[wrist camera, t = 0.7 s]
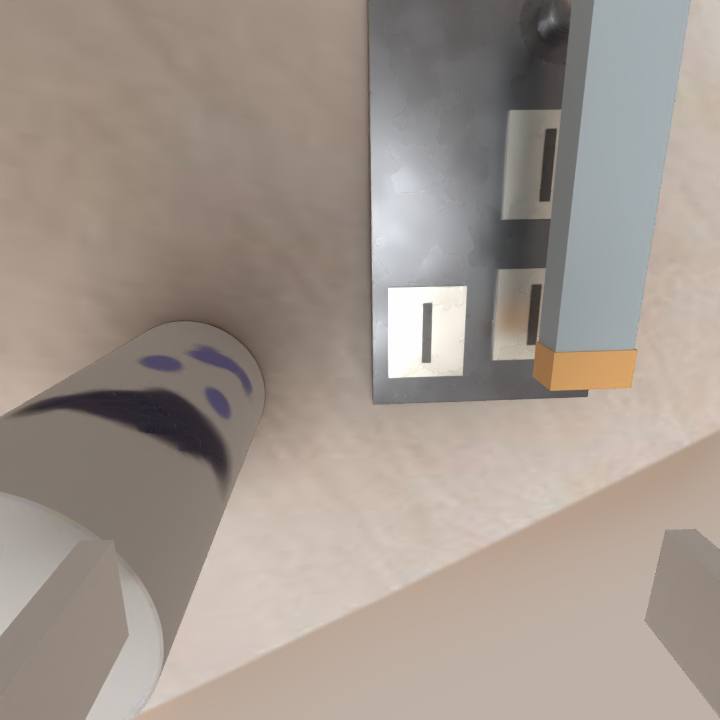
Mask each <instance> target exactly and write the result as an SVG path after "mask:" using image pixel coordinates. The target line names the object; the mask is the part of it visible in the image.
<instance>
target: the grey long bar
mask: <svg viewBox="0 0 720 720" xmlns="http://www.w3.org/2000/svg"><path fill="white" fill-rule="evenodd" d="M690 3H691V0H572V7H571V17H570V27H569V37H568V48H567V58H566V68H565V78H564V88H563V98H562V109H561V119H560V129H559V139H558V149H557V160H556V170H555V180H554V190H553V200H552V211H551V221H550V231H549V241H548V251H547V261H546V272H545V282H544V292H543V302H542V312H541V323H540V333H539V341H538V342H536V347H535V357H534V367H533V377H534V378H535V379H536V380H537V381H539V382H540V383H541V384H542V385H544V386H545V387H546V388H547V389H549V390H550V391H559V390H587V389H616V388H631V386H632V380H633V374H634V368H635V362H636V356H637V350H636V349H634V348H635V342H636V336H637V330H638V323H639V317H640V311H641V305H642V299H643V293H644V286H645V280H646V274H647V268H648V262H649V256H650V249H651V243H652V237H653V231H654V225H655V219H656V212H657V206H658V200H659V194H660V188H661V182H662V175H663V169H664V163H665V157H666V151H667V145H668V138H669V132H670V126H671V120H672V114H673V108H674V101H675V95H676V89H677V83H678V77H679V71H680V64H681V58H682V52H683V46H684V40H685V34H686V27H687V21H688V15H689V9H690Z"/></svg>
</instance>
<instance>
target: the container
mask: <svg viewBox="0 0 720 720" xmlns="http://www.w3.org/2000/svg"><path fill="white" fill-rule="evenodd" d="M264 403H265V387H264V381H263V377H262V374H261V371H260V369H259V367H258V365H257V363H256V361H255V359H254V358H253V356H252V355H251V354H250V352H249V351H248V350H247V349H246V348H245V347H244V346H243V345H242V344H241V343H240V342H239V341H238V340H237V339H235V338H234V337H233V336H231V335H230V334H228V333H226V332H225V331H223V330H221V329H219V328H216V327H214V326H211V325H208V324H204V323H199V322H191V321H178V322H171V323H166V324H162V325H159V326H157V327H154V328H152V329H150V330H148V331H147V332H145V333H143V334H142V335H140V336H138V337H136V338H135V339H133V340H131V341H130V342H128V343H126V344H124V345H123V346H121V347H119V348H118V349H116V350H114V351H112V352H111V353H109V354H107V355H106V356H104V357H102V358H100V359H99V360H97V361H95V362H94V363H92V364H90V365H88V366H87V367H85V368H83V369H82V370H80V371H78V372H76V373H75V374H73V375H71V376H70V377H68V378H66V379H64V380H63V381H61V382H59V383H58V384H56V385H54V386H52V387H51V388H49V389H47V390H46V391H44V392H42V393H40V394H39V395H37V396H35V397H34V398H32V399H30V400H28V401H27V402H25V403H23V404H22V405H20V406H18V407H16V408H15V409H13V410H11V411H10V412H8V413H6V414H4V415H3V416H1V417H0V636H1V635H2V633H3V632H4V631H5V630H6V629H7V627H8V626H9V625H10V624H11V623H12V621H13V620H14V619H15V618H16V617H17V615H18V614H19V613H20V612H21V611H22V609H23V608H24V607H25V606H26V605H27V603H28V602H29V601H30V600H31V599H32V597H33V596H34V595H35V594H36V593H37V591H38V590H39V589H40V588H41V587H42V585H43V584H44V583H45V582H46V581H47V579H48V578H49V577H50V576H51V575H52V573H53V572H54V571H55V570H56V568H57V567H58V566H59V565H60V564H61V562H62V561H63V560H64V559H65V558H66V556H67V555H68V554H69V553H70V552H71V550H72V549H73V548H74V547H75V546H76V544H77V543H78V542H79V541H91V540H114V545H115V552H116V558H117V564H118V570H119V576H120V582H121V589H122V595H123V601H124V607H125V613H126V619H127V626H128V632H129V636H128V638H127V640H126V642H125V644H124V646H123V648H122V650H121V652H120V654H119V655H118V657H117V659H116V661H115V663H114V665H113V667H112V669H111V671H110V673H109V675H108V677H107V679H106V681H105V683H104V685H103V686H102V688H101V690H100V692H99V694H98V696H97V698H96V700H95V702H94V704H93V706H92V708H91V710H90V712H89V714H88V715H87V717H86V719H85V720H133V719H134V718H135V717H136V716H137V715H138V714H139V713H140V711H141V710H142V709H143V708H144V706H145V705H146V703H147V702H148V700H149V699H150V697H151V695H152V694H153V692H154V690H155V687H156V685H157V683H158V680H159V677H160V675H161V672H162V670H163V667H164V665H165V662H166V659H167V657H168V654H169V652H170V649H171V647H172V644H173V641H174V639H175V636H176V634H177V631H178V629H179V626H180V623H181V621H182V618H183V616H184V613H185V611H186V608H187V605H188V603H189V600H190V598H191V595H192V593H193V590H194V587H195V585H196V582H197V580H198V577H199V575H200V572H201V569H202V567H203V564H204V562H205V559H206V557H207V554H208V552H209V549H210V546H211V544H212V541H213V539H214V536H215V534H216V531H217V528H218V526H219V523H220V521H221V518H222V516H223V513H224V510H225V508H226V505H227V503H228V500H229V498H230V495H231V492H232V490H233V487H234V485H235V482H236V480H237V477H238V474H239V472H240V469H241V467H242V464H243V462H244V459H245V456H246V454H247V451H248V449H249V446H250V444H251V441H252V438H253V436H254V433H255V431H256V428H257V426H258V423H259V420H260V418H261V415H262V412H263V408H264Z"/></svg>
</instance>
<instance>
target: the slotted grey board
mask: <svg viewBox="0 0 720 720" xmlns="http://www.w3.org/2000/svg"><path fill="white" fill-rule="evenodd" d="M526 1H527V0H368V71H369V153H370V236H371V319H372V398H373V403H374V405H375V404H403V403H430V402H458V401H486V400H514V399H541V398H569V397H587V396H588V389H587V390H559V391H550V390H549V389H547V388H546V387H545V386H544V385H542V384H541V383H540V382H539V381H537V380H536V379H535V378H534V377H533V367H534V357H535V347H536V342H538V341H539V333H540V323H541V312H542V302H543V292H544V282H545V272H546V261H547V251H548V241H549V231H550V221H551V211H552V200H553V190H554V180H555V170H556V160H557V149H558V139H559V129H560V119H561V109H562V98H563V88H564V78H565V68H566V64H565V63H566V58H567V50H563V49H565V48H566V49H567V48H568V46H567V45H568V42H566V43H564V44H562V45H561V46H560V45H552V44H549V43H547V42H546V41H545V42H544V39H543V38H542V36H541V35H540V33H539V30H537V29H538V27H537V26H538V19H537V18H538V15H539V13H538V12H540V9H541V7H542V6H543V4H544V3H545V2H546V0H541V2H540V0H538V2H537V0H528V2H526ZM529 1H530V2H529ZM533 1H534V2H533ZM535 1H536V2H535ZM532 2H533V3H532ZM542 2H544V3H543V4H542ZM528 3H529V4H528ZM534 3H535V4H534ZM539 3H541V4H539ZM525 4H526V5H525ZM527 4H528V5H527ZM533 5H534V6H533ZM523 6H524V7H523ZM528 6H530V7H531V6H532V7H531V8H532V9H531V8H530V7H528ZM535 6H536V7H535ZM540 6H541V7H540ZM527 7H528V8H527ZM526 8H527V9H526ZM535 8H536V9H535ZM539 8H540V9H539ZM530 9H531V10H530ZM526 10H527V11H526ZM538 10H539V11H538ZM528 11H529V12H528ZM523 12H524V13H525V12H526V13H525V15H526V16H527V17H524V16H525V15H523V14H524V13H523ZM527 12H528V13H527ZM532 12H533V13H534V14H533V13H532ZM536 12H537V13H536ZM536 14H537V15H536ZM533 15H534V16H535V17H536V18H535V17H534V16H533ZM530 16H531V17H532V18H534V19H532V18H531V17H530ZM520 17H521V19H520ZM522 18H523V19H522ZM527 19H529V20H527ZM523 20H524V21H523ZM530 20H531V21H530ZM522 22H523V23H522ZM534 22H535V23H534ZM531 23H532V24H531ZM536 23H537V24H536ZM525 24H526V25H527V26H526V25H525ZM521 25H523V26H521ZM536 25H537V26H536ZM533 26H534V27H533ZM525 27H526V28H527V29H526V28H525ZM529 27H530V28H529ZM520 28H521V29H520ZM523 29H524V30H523ZM529 29H530V30H529ZM527 30H528V31H527ZM520 31H521V32H520ZM526 31H527V32H526ZM530 31H531V32H530ZM528 32H529V33H528ZM521 33H522V34H521ZM526 33H527V34H526ZM531 33H532V34H531ZM538 33H539V34H538ZM524 35H525V36H524ZM533 35H534V36H535V37H534V36H533ZM528 36H530V37H528ZM538 36H539V37H538ZM522 37H523V39H522ZM527 37H528V38H529V39H528V38H527ZM531 37H532V38H531ZM524 38H525V39H524ZM530 38H531V39H530ZM540 38H541V39H542V40H541V39H540ZM526 39H528V40H526ZM537 39H538V41H537ZM532 40H533V41H532ZM540 40H541V41H540ZM524 41H525V42H524ZM537 42H538V43H537ZM539 42H540V43H539ZM541 42H542V43H543V42H544V43H543V44H542V43H541ZM526 43H527V44H526ZM545 43H546V44H545ZM524 44H525V45H524ZM532 44H534V45H532ZM537 44H538V45H537ZM566 44H567V45H566ZM544 45H545V46H544ZM548 45H549V46H548ZM546 46H548V48H549V49H548V48H547V47H546ZM550 46H552V47H550ZM562 46H563V47H562ZM525 47H526V48H525ZM540 47H541V48H540ZM555 47H556V48H555ZM535 48H537V50H536V49H535ZM558 48H560V49H558ZM561 48H562V49H561ZM528 49H529V50H528ZM553 49H554V50H553ZM532 50H533V51H532ZM553 51H554V52H555V53H556V54H555V53H554V52H553ZM557 51H558V52H557ZM561 51H563V52H562V53H561ZM530 52H532V53H530ZM535 52H536V54H535ZM546 52H547V53H548V54H547V53H546ZM550 52H551V53H550ZM533 53H534V54H533ZM545 53H546V54H545ZM552 53H554V54H552ZM563 53H564V54H563ZM565 53H566V54H565ZM543 54H545V55H544V56H543ZM561 54H562V56H560V57H559V55H561ZM531 55H532V56H531ZM536 55H537V56H536ZM547 55H548V56H549V55H550V56H549V57H548V56H547ZM552 55H556V56H555V57H554V56H552ZM564 56H565V57H564ZM545 57H546V58H545ZM547 57H548V59H547ZM550 57H552V58H550ZM553 57H554V58H553ZM556 57H557V58H556ZM537 58H541V61H540V62H539V59H537ZM542 58H543V59H544V62H545V63H546V61H545V60H547V63H548V62H549V63H548V64H544V62H543V63H542ZM549 58H550V59H549ZM555 58H556V60H555ZM558 58H559V59H560V60H559V59H558ZM564 59H565V60H564ZM550 61H551V62H553V63H551V62H550ZM555 61H556V63H555ZM561 61H563V62H561ZM560 62H561V64H562V65H560ZM554 63H555V64H557V65H556V66H555V64H554ZM549 64H554V65H549Z"/></svg>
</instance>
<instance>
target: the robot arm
mask: <svg viewBox="0 0 720 720" xmlns="http://www.w3.org/2000/svg"><path fill="white" fill-rule="evenodd" d="M645 622H646V623H647V624H648V626H649V627H650V628H651V630H652V631H653V632H654V633H655V635H656V636H657V637H658V639H659V640H660V641H661V642H662V644H663V645H664V646H665V648H666V649H667V650H668V652H669V653H670V654H671V655H672V657H673V658H674V659H675V661H676V662H677V663H678V664H679V666H680V667H681V668H682V670H683V671H684V672H685V673H686V675H687V676H688V677H689V679H690V680H691V681H692V682H693V684H694V685H695V686H696V688H697V689H698V690H699V691H700V693H701V694H702V695H703V696H704V698H705V699H706V700H707V702H708V703H709V704H710V706H711V707H712V708H713V709H714V711H715V712H716V713H717V715H718V716H719V717H720V549H719V548H717V547H716V546H715V545H714V544H713V543H711V542H710V541H709V540H708V539H707V538H705V537H704V536H703V535H702V534H701V533H700V532H698V531H697V530H696V529H688V530H687V529H686V530H685V529H684V530H665V534H664V539H663V543H662V547H661V551H660V556H659V561H658V564H657V569H656V573H655V578H654V582H653V586H652V591H651V595H650V600H649V605H648V608H647V613H646V617H645ZM128 636H129V632H128V626H127V619H126V613H125V607H124V601H123V595H122V589H121V582H120V576H119V570H118V564H117V558H116V552H115V545H114V540H91V541H79V542H78V543H77V544H76V546H75V547H74V548H73V549H72V550H71V552H70V553H69V554H68V555H67V556H66V558H65V559H64V560H63V561H62V562H61V564H60V565H59V566H58V567H57V568H56V570H55V571H54V572H53V573H52V575H51V576H50V577H49V578H48V579H47V581H46V582H45V583H44V584H43V585H42V587H41V588H40V589H39V590H38V591H37V593H36V594H35V595H34V596H33V597H32V599H31V600H30V601H29V602H28V603H27V605H26V606H25V607H24V608H23V609H22V611H21V612H20V613H19V614H18V615H17V617H16V618H15V619H14V620H13V621H12V623H11V624H10V625H9V626H8V627H7V629H6V630H5V631H4V632H3V633H2V635H1V636H0V720H85V719H86V717H87V715H88V714H89V712H90V710H91V708H92V706H93V704H94V702H95V700H96V698H97V696H98V694H99V692H100V690H101V688H102V686H103V685H104V683H105V681H106V679H107V677H108V675H109V673H110V671H111V669H112V667H113V665H114V663H115V661H116V659H117V657H118V655H119V654H120V652H121V650H122V648H123V646H124V644H125V642H126V640H127V638H128Z"/></svg>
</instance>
